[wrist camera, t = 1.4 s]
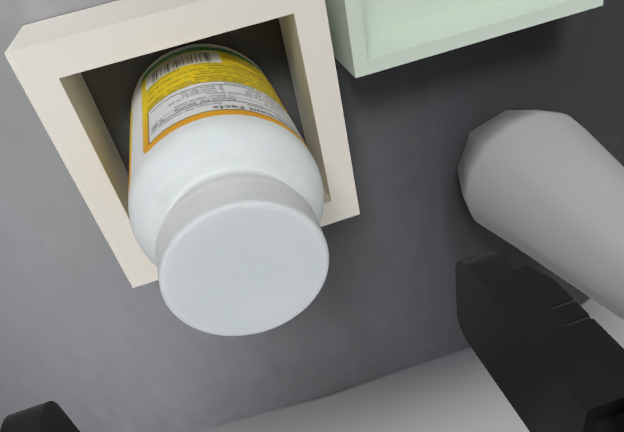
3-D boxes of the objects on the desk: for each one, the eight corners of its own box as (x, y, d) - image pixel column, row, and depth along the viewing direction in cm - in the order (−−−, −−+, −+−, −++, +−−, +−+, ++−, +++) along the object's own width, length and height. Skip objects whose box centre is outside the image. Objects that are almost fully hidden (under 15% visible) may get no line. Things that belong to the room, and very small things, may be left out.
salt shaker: (424, 137, 23) (660, 365, 13) (538, 66, 23) (881, 241, 12) (462, 224, 27) (672, 457, 16) (562, 163, 26) (843, 363, 16)
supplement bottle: (168, 10, 17) (195, 130, 10) (300, 83, 20) (402, 221, 12) (106, 144, 19) (87, 331, 12) (233, 194, 22) (286, 373, 14)
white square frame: (23, 25, 17) (4, 53, 14) (294, -47, 18) (319, -31, 15) (133, 241, 22) (133, 288, 20) (336, 177, 23) (360, 214, 21)
